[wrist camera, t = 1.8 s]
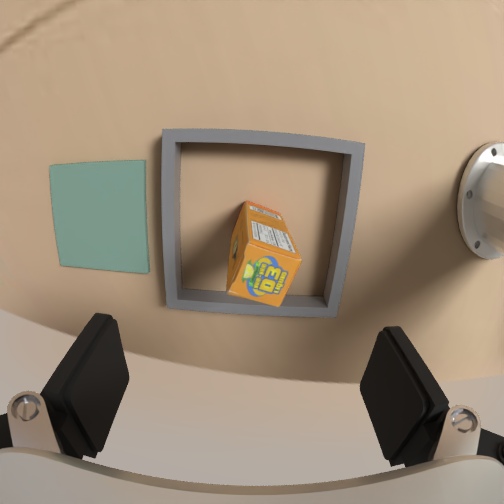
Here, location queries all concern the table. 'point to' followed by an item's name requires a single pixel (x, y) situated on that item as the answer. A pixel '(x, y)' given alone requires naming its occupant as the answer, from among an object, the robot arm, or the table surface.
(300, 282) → the table surface
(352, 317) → the table surface
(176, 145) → the gray square frame
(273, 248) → the supplement box
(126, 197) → the mat
